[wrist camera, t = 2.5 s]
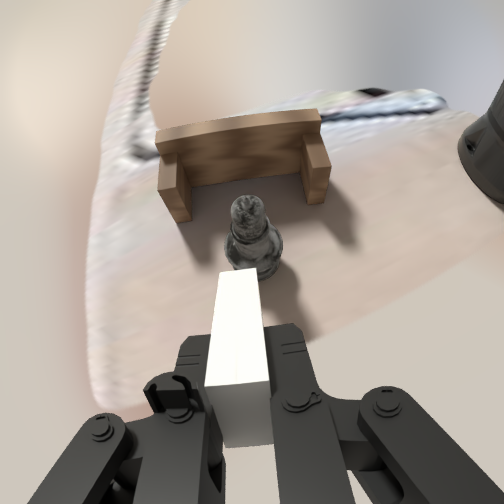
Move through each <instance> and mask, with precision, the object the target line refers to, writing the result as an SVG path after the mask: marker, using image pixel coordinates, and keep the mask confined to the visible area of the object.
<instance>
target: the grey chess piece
mask: <svg viewBox="0 0 504 504" xmlns="http://www.w3.org/2000/svg"><path fill="white" fill-rule="evenodd" d="M231 217H232V223H231V228H230V230H231V231H230V232H229V233H228V235H227V237H226V240H225V245H224V250H225V255H226V257H227V259H228V261H229V262H230V263H231V264H232V265H233V268H234V270H243V269H250V268H256V272H257V279H258V281H262V280H265V279H267V278H269V277H271V276H272V275H273V274H274V273H275V271H276V270H277V268H278V266H279V262H280V257H281V254H282V250H283V241H282V237H281V235H280V233H279V232H278V230H277V229H276V228H275V227H274V226H273V225H272V224H270V221H269V219H268V217H267V216H266V215H265V206H264V204H263V202H262V200H261V199H260V198H259V197H257V196H255V195H243V196H240V197H238V198H237V199H236V200H235V201H234V202H233V204H232V206H231Z"/></svg>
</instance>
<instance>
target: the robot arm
mask: <svg viewBox="0 0 504 504" xmlns="http://www.w3.org/2000/svg"><path fill="white" fill-rule="evenodd" d="M458 153H459V157H460V160H461V162H462V164H463V166H464V168H465V170H466V171H467V173H468V174H469V176H470V177H471V179H472V180H473V181H474V182H475V183H476V185H477V186H478V187H479V188H480V189H481V190H482V191H483V192H485V193H486V194H487V195H488V196H490V197H491V198H493V199H494V200H496V201H498V202H500V203H502V204H504V80H503V83H502V84H501V86H500V89H499V90H498V92H497V94H496V96H495V98H494V100H493V102H492V104H491V106H490V107H489V109H488V111H487V113H485V115H483V116H482V117H480V118H479V119H478V120H477V121H475V122H474V123H473V124H471V125H470V126H469V127H467V128H466V129H465V131H464V132H463V134H462V136H461V138H460V139H459V142H458ZM143 392H144V394H145V396H146V398H147V400H148V402H149V404H150V406H151V408H152V410H153V412H154V415H152V416H150V417H147V418H144V419H141V420H136V421H132V422H127V423H124V422H123V420H122V419H121V417H119V416H117V415H115V414H112V413H102V414H97V415H95V416H93V417H92V418H89V419H88V420H87V421H86V422H85V423H84V424H83V426H82V427H81V428H80V430H79V431H78V432H77V434H76V435H75V436H74V438H73V439H72V441H71V442H70V444H69V445H68V446H67V448H66V449H65V450H64V452H63V453H62V455H61V456H60V458H59V459H58V460H57V462H56V463H55V464H54V466H53V467H52V469H51V470H50V471H49V473H48V474H47V476H46V477H45V479H44V480H43V482H42V483H41V484H40V486H39V487H38V489H37V490H36V492H35V493H34V495H33V496H32V498H31V499H30V501H29V502H28V503H27V504H225V479H226V463H225V459H224V456H223V453H222V449H223V442H224V445H225V447H226V448H235V447H249V446H260V445H269V444H274V449H275V459H276V468H277V478H278V488H279V497H280V504H356V503H355V500H354V496H353V493H352V488H351V485H350V481H349V477H348V474H347V470H351V471H352V473H353V474H354V476H355V477H356V479H357V480H358V482H359V483H360V485H361V486H362V488H363V489H364V491H365V493H366V494H367V496H368V497H369V499H370V500H371V502H372V503H373V504H504V493H503V491H502V490H501V489H500V488H499V487H498V486H497V485H496V484H495V483H494V482H493V481H492V480H491V479H490V478H489V477H488V475H487V474H486V473H485V472H483V470H482V469H481V468H480V467H479V466H478V465H477V464H476V463H475V462H474V461H473V460H472V459H471V458H470V457H469V456H468V455H467V453H465V452H464V450H463V449H461V447H460V446H459V445H458V444H457V443H456V442H455V441H454V440H453V439H452V438H451V437H450V436H449V435H448V434H447V433H446V432H445V431H444V430H443V429H442V428H441V427H440V426H439V425H438V423H437V422H435V420H433V418H432V417H431V416H430V415H429V414H428V413H427V412H426V411H425V410H424V409H423V408H422V407H421V406H420V405H419V404H418V403H417V402H416V401H415V400H414V399H413V398H412V397H411V396H410V395H409V394H408V393H406V392H405V391H403V390H402V389H400V388H396V387H392V386H382V387H378V388H374V389H372V390H370V391H369V392H368V393H366V394H365V395H364V396H363V398H362V400H345V399H337V398H334V397H331V396H329V395H327V394H326V393H324V392H323V391H322V390H321V389H320V388H319V386H318V384H317V381H316V377H315V374H314V371H313V367H312V364H311V360H310V357H309V354H308V351H307V347H306V343H305V340H304V337H303V333H302V331H301V330H300V329H299V328H298V327H297V326H296V325H294V324H293V323H290V324H283V325H276V326H269V327H264V325H263V317H262V310H261V302H260V295H259V287H258V279H257V272H256V268H250V269H243V270H235V271H227V272H220V275H219V281H218V288H217V295H216V302H215V309H214V317H213V324H212V331H211V334H207V335H196V336H188V338H187V339H186V340H185V341H184V342H183V343H182V345H181V346H180V350H179V354H178V358H177V362H176V367H175V370H174V371H173V372H167V373H163V374H161V375H158V376H156V377H154V378H153V379H152V380H151V381H149V382H148V383H147V384H146V386H145V388H144V389H143Z"/></svg>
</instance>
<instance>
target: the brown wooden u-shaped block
mask: <svg viewBox="0 0 504 504" xmlns="http://www.w3.org/2000/svg"><path fill="white" fill-rule="evenodd" d="M320 128H321V118H320V115H319V113H318V110H317V109H302V110H290V111H279V112H269V113H260V114H252V115H244V116H237V117H230V118H223V119H217V120H211V121H205V122H200V123H194V124H189V125H184V126H178V127H173V128H169V129H164V130H159V131H156V138H155V145H156V147H157V149H158V151H159V154H160V164H159V176H158V192H159V194H160V196H161V198H162V199H163V201H164V203H165V205H166V206H167V208H168V210H169V212H170V214H171V215H172V217H173V219H174V220H175V222H176V223H181V222H187V221H192V199H191V188H192V187H198V186H204V185H210V184H216V183H223V182H230V181H237V180H244V179H251V178H258V177H266V176H274V175H283V174H291V173H300V176H301V180H302V184H303V188H304V192H305V196H306V200H307V204H308V205H311V204H320V203H324V200H325V195H326V191H327V186H328V181H329V177H330V172H331V167H332V166H331V163H330V160H329V157H328V154H327V151H326V149H325V146H324V143H323V140H322V137H321V135H320Z"/></svg>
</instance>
